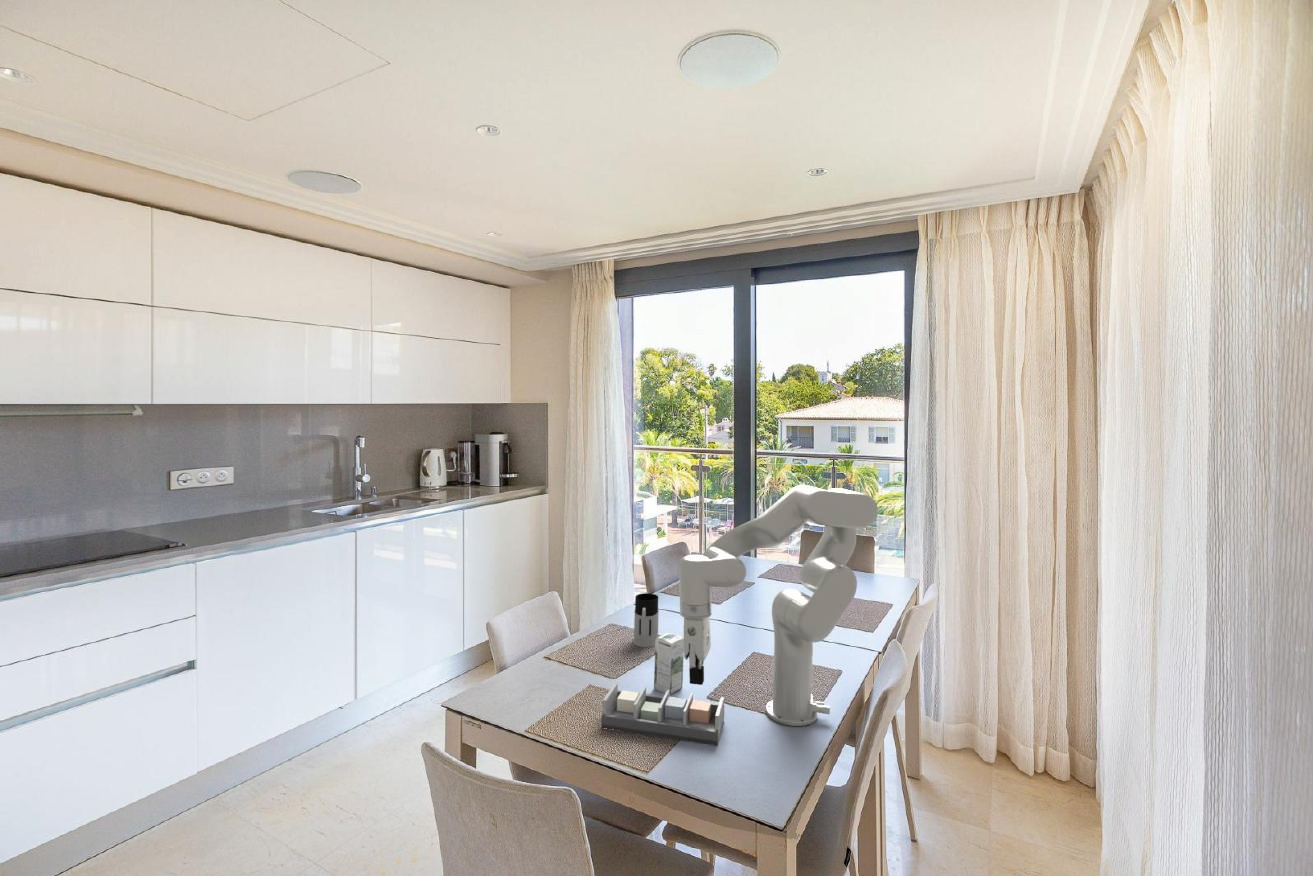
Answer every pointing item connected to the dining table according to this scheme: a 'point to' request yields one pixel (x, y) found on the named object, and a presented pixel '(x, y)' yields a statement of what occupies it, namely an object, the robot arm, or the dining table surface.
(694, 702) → the light orange square block
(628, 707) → the cream block
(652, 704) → the key sage
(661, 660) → the syrup box
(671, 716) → the pale blue block
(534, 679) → the dining table surface
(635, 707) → the slotted cube rack
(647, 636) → the glass holder
